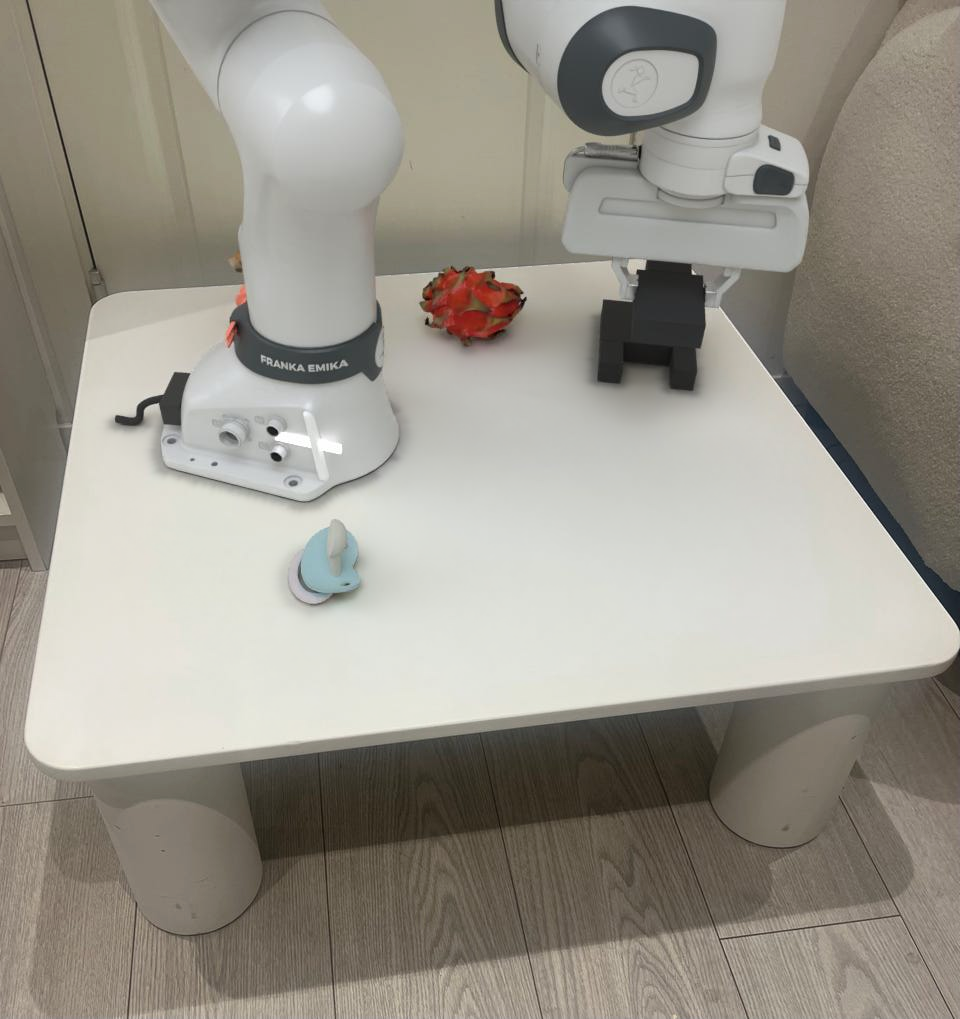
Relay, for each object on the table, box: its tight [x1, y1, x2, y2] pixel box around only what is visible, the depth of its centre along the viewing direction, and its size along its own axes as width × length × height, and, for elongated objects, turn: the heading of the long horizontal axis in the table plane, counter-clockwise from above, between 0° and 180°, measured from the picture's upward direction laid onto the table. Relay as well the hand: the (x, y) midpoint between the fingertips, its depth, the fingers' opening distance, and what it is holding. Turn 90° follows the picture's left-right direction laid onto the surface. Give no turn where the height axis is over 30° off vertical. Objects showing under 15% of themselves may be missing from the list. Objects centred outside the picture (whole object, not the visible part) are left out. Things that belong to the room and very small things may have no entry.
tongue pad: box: [631, 260, 707, 350], centre depth 91 cm, size 12×6×2 cm, turn 173°
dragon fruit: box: [418, 265, 528, 346], centre depth 109 cm, size 8×8×12 cm
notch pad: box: [596, 298, 698, 391], centre depth 109 cm, size 12×10×2 cm
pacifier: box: [287, 518, 361, 605], centre depth 83 cm, size 7×6×6 cm
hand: (669, 300), depth 90 cm, fingers closed on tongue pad, 6 cm apart
